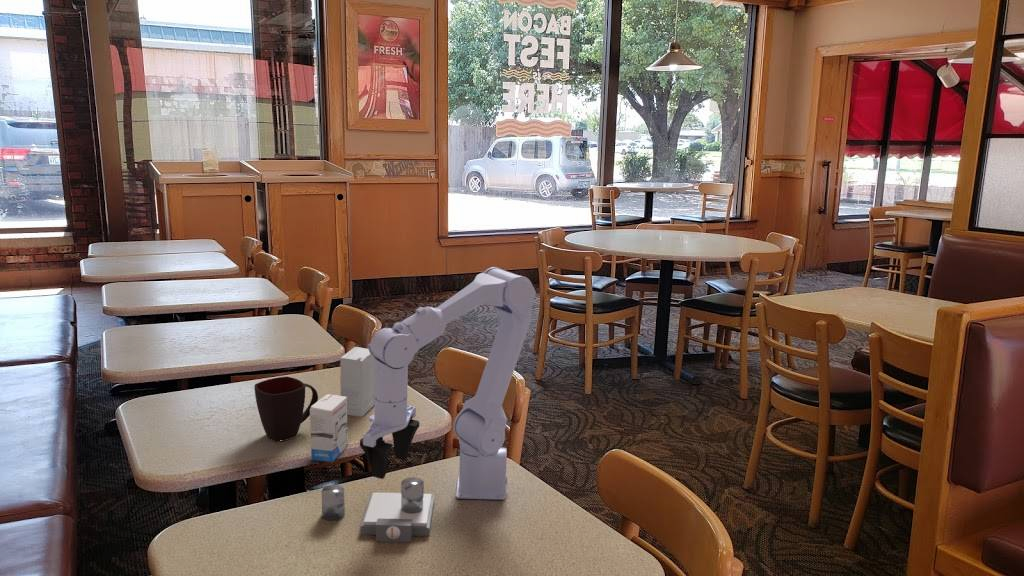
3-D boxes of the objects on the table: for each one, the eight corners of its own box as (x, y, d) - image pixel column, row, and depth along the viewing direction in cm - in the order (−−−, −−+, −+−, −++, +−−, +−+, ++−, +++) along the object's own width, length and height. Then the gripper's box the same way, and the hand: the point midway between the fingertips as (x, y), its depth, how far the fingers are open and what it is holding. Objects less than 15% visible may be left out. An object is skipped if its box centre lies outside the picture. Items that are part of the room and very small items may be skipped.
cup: (250, 434, 165) (247, 384, 162) (305, 417, 175) (304, 370, 172) (271, 449, 158) (269, 397, 155) (328, 431, 168) (327, 382, 165)
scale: (434, 503, 140) (434, 487, 139) (428, 543, 127) (428, 527, 126) (370, 501, 139) (370, 486, 139) (358, 541, 127) (358, 525, 126)
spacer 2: (402, 501, 136) (403, 476, 134) (424, 502, 136) (424, 477, 134) (399, 513, 132) (399, 488, 131) (421, 514, 132) (422, 489, 131)
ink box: (331, 463, 153) (330, 410, 151) (309, 460, 154) (308, 408, 152) (348, 445, 162) (348, 395, 159) (327, 442, 163) (326, 392, 160)
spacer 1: (347, 509, 136) (346, 485, 135) (341, 521, 132) (341, 497, 131) (325, 508, 136) (324, 484, 135) (319, 520, 132) (318, 495, 131)
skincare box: (354, 401, 185) (354, 345, 181) (377, 405, 184) (376, 348, 180) (339, 414, 177) (338, 356, 174) (362, 418, 176) (362, 359, 172)
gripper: (392, 379, 137) (392, 446, 140) (347, 406, 123) (348, 480, 127) (426, 386, 134) (424, 454, 137) (383, 414, 121) (383, 489, 124)
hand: (390, 467), depth 132 cm, fingers open, 7 cm apart
